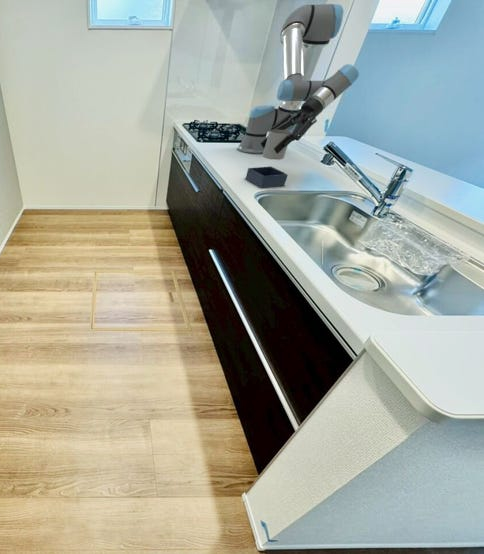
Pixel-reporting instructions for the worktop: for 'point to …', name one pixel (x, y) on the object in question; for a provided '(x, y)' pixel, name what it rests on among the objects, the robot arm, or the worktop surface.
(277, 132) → the cup
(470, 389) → the worktop surface
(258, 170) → the dark navy open box
